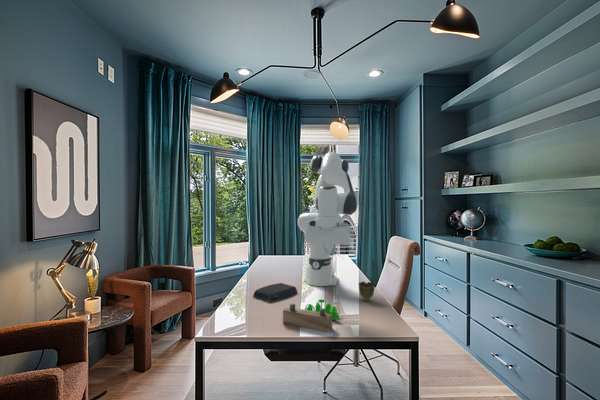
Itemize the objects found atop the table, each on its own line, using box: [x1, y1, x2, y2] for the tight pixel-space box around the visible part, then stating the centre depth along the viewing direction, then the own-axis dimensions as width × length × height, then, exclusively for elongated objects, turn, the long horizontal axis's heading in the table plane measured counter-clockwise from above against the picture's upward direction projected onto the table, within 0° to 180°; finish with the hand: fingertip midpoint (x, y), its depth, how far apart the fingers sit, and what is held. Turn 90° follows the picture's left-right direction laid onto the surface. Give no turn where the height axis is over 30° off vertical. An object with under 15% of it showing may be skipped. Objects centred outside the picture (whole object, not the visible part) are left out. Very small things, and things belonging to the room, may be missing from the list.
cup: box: [358, 281, 376, 302], centre depth 144 cm, size 8×7×8 cm
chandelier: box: [303, 298, 341, 322], centre depth 124 cm, size 15×15×7 cm
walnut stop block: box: [282, 303, 333, 333], centre depth 115 cm, size 4×18×7 cm, turn 66°
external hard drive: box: [252, 282, 299, 304], centre depth 151 cm, size 13×19×4 cm
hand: (327, 254), depth 136 cm, fingers closed
